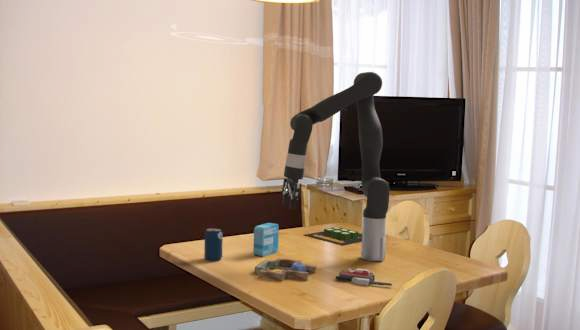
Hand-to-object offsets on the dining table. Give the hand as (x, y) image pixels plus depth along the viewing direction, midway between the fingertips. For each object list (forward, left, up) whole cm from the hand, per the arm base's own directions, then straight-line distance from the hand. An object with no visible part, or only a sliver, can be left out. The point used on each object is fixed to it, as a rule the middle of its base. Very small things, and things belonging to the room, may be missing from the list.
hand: (288, 207), depth 230 cm
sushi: (-8, -54, -23) cm, 59 cm away
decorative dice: (-10, +14, -22) cm, 28 cm away
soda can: (+27, +9, -22) cm, 36 cm away
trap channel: (-5, +14, -22) cm, 26 cm away
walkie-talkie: (-33, +12, -23) cm, 42 cm away
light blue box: (+12, -9, -22) cm, 27 cm away
